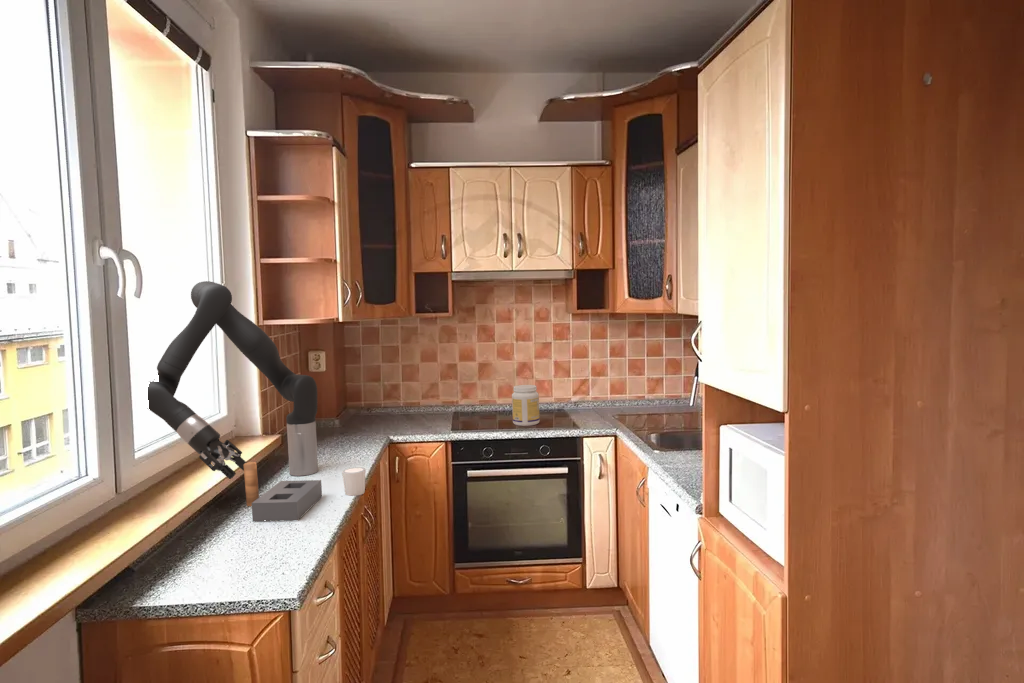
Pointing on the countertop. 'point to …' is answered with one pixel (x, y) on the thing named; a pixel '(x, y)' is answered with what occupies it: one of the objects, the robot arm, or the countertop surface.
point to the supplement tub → (525, 405)
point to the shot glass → (354, 481)
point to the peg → (251, 482)
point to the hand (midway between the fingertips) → (240, 472)
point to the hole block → (287, 500)
